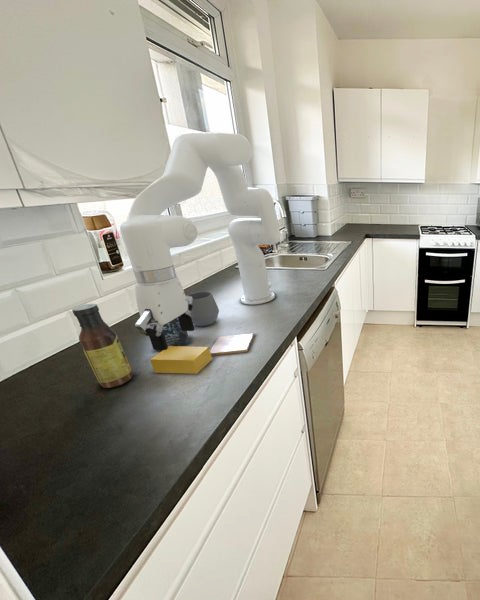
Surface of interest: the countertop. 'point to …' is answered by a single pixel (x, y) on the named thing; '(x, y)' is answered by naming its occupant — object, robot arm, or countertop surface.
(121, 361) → the sauce bottle
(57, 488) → the countertop surface
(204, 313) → the cup
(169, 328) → the box
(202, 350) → the block
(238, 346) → the plate
